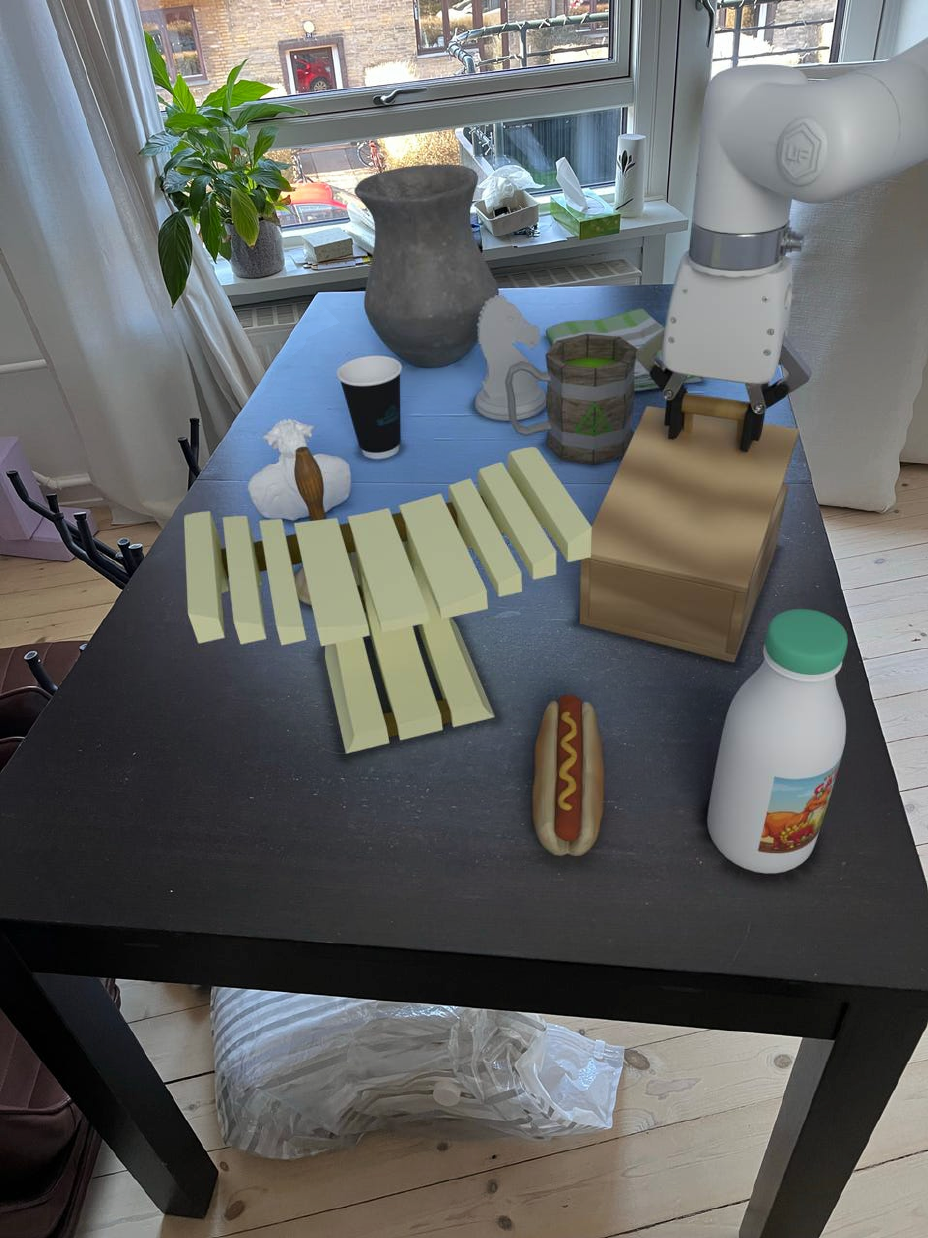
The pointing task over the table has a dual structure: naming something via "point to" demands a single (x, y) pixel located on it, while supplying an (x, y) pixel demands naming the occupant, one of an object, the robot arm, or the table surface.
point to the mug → (584, 397)
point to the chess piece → (506, 361)
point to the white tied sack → (277, 481)
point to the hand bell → (312, 507)
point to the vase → (425, 263)
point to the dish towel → (627, 326)
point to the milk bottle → (781, 747)
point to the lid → (694, 495)
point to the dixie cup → (374, 403)
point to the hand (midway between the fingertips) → (711, 437)
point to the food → (568, 778)
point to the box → (675, 602)
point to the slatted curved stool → (390, 588)
